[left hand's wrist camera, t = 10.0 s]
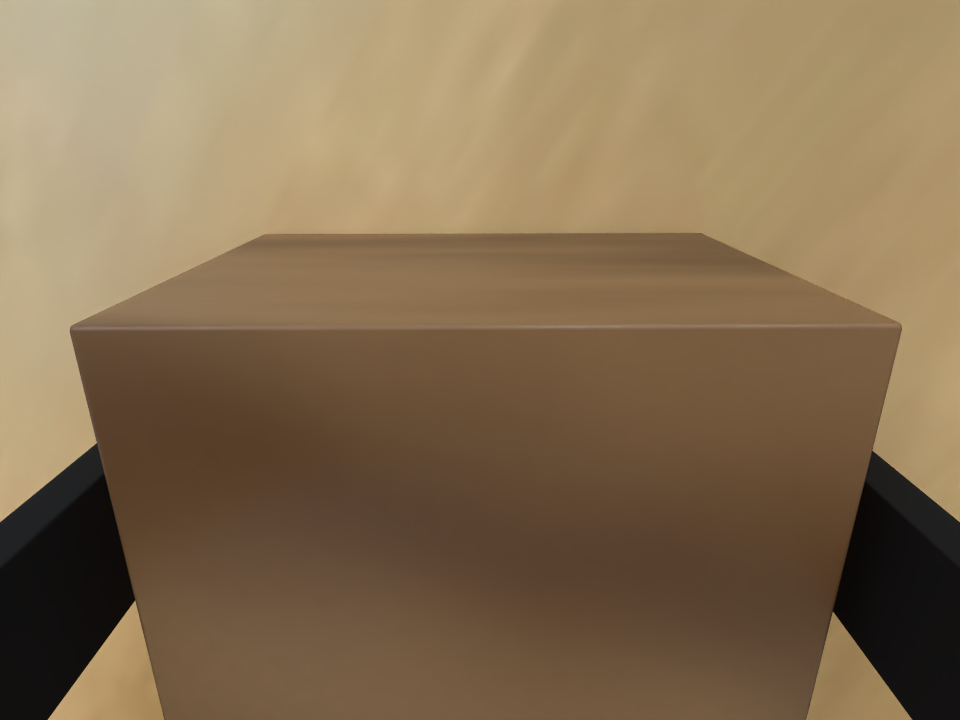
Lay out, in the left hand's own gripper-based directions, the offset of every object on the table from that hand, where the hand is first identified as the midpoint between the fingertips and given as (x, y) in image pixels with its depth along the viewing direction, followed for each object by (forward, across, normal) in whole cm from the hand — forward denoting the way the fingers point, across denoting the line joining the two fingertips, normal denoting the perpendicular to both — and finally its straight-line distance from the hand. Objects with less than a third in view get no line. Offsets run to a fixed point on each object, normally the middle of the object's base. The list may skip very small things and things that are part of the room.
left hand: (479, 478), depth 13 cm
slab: (+3, 0, -21) cm, 21 cm away
